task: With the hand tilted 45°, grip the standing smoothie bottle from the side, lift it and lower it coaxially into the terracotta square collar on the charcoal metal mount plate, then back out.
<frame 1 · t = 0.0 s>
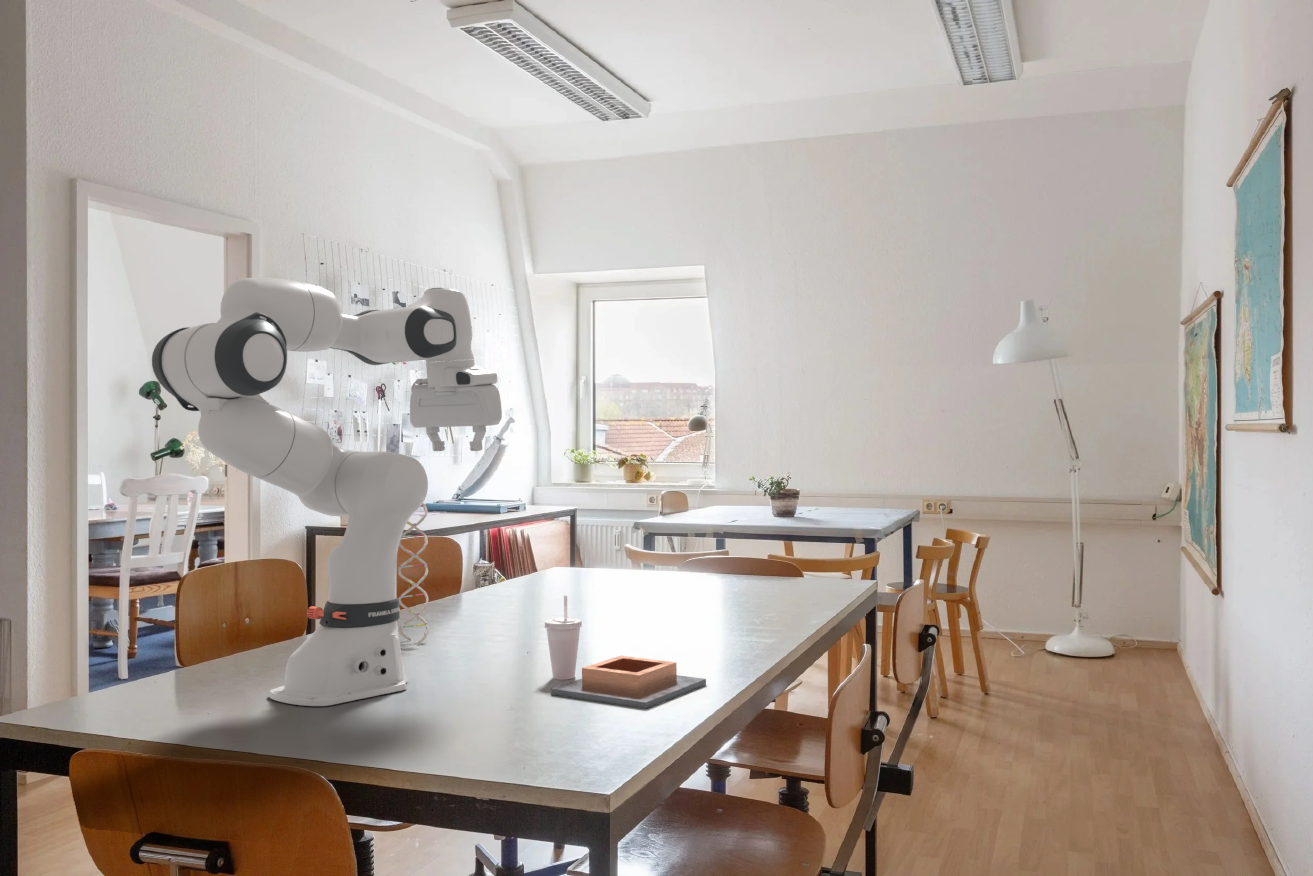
hand: (457, 450, 196), 39 cm above the table, tool pointing down, fingers open, 8 cm apart
smoothie: (563, 678, 180), on the table
dna model: (413, 643, 213), on the table
mount: (629, 689, 170), on the table
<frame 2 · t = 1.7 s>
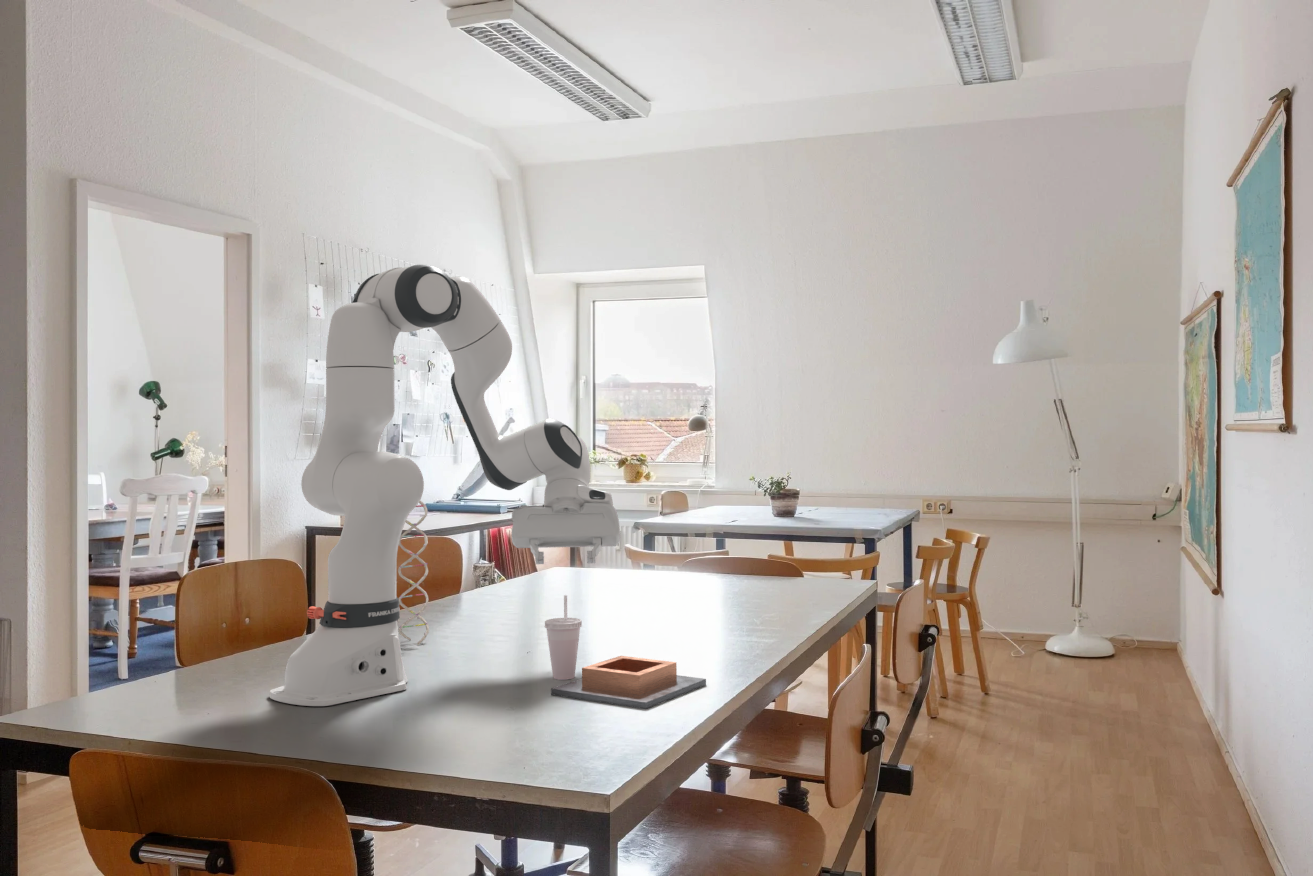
hand: (565, 561, 192), 18 cm above the table, tool tilted 45°, fingers open, 8 cm apart
nothing on the table moved.
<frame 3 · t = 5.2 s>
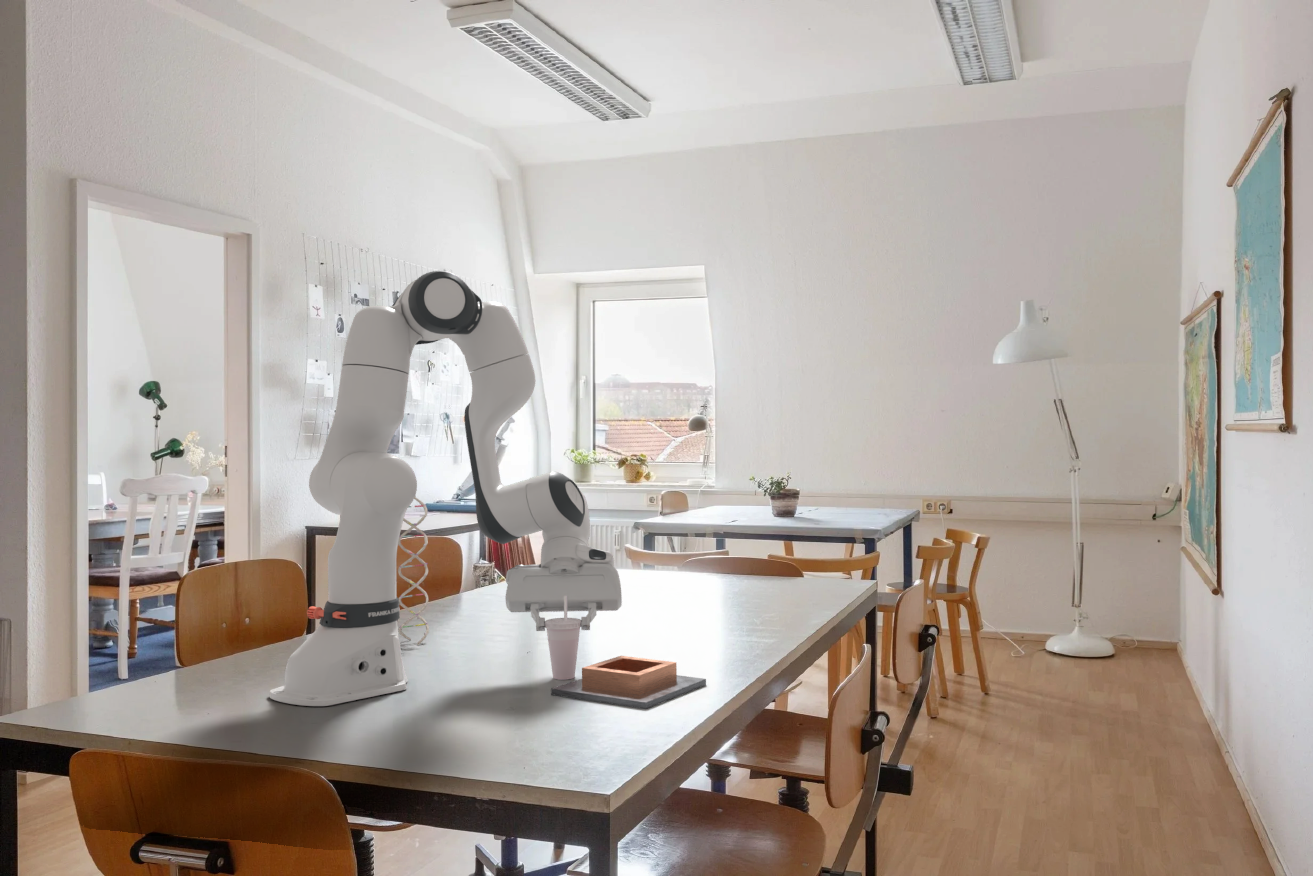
hand: (563, 628, 179), 8 cm above the table, tool tilted 45°, fingers closed on smoothie, 6 cm apart
smoothie: (563, 678, 180), on the table, touching gripper
everything else where it was.
when the fingers open (10 cm above the table, at t = 11.9 s): smoothie stays where it is, resting on mount.
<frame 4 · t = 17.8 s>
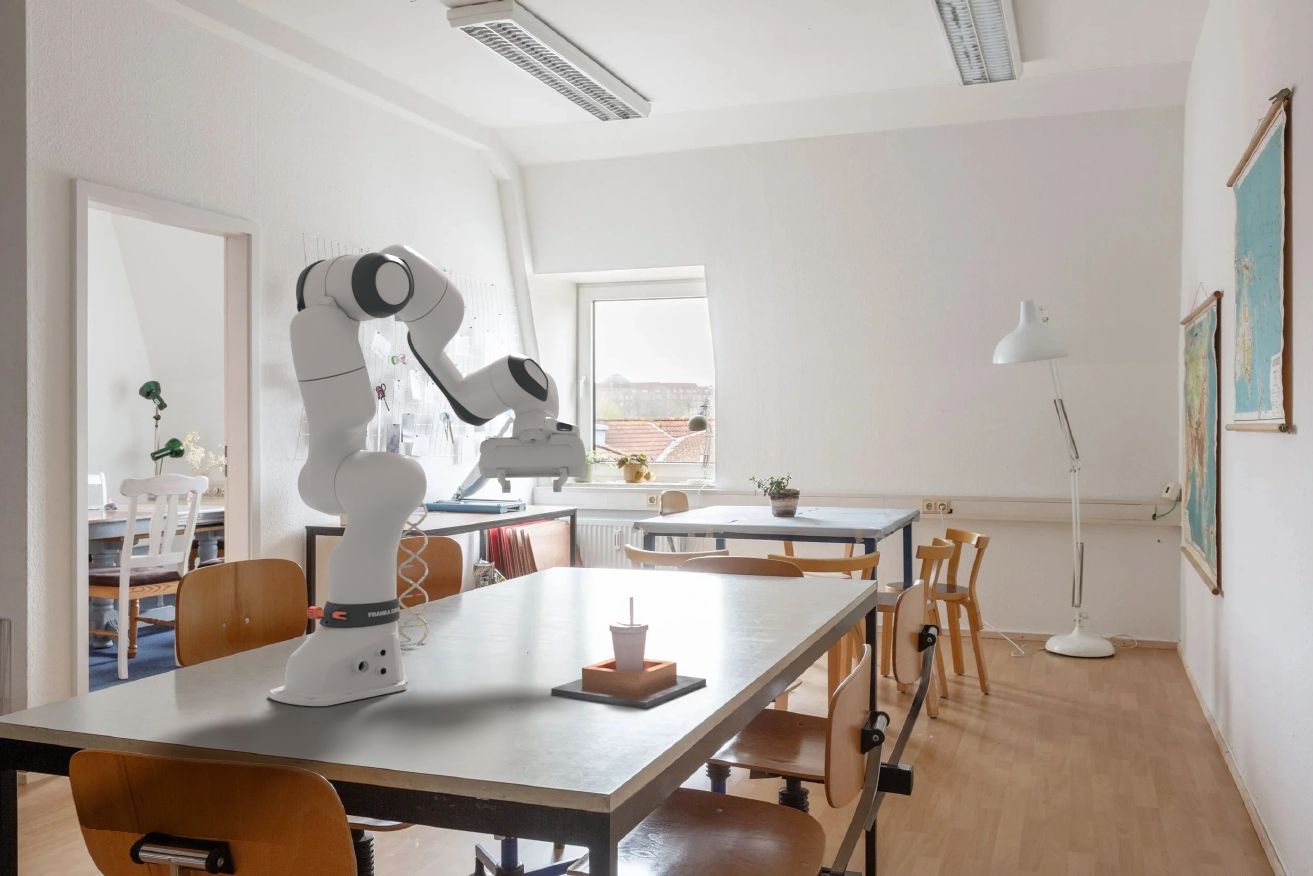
hand: (531, 490, 194), 31 cm above the table, tool tilted 45°, fingers open, 8 cm apart
smoothie: (629, 684, 170), point 1 cm above the table, touching mount
everything else where it was.
at the end: smoothie 0.1 cm off-centre on the mount, point 0.8 cm above the mount's base; smoothie tilted 0°; the gripper is holding nothing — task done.
